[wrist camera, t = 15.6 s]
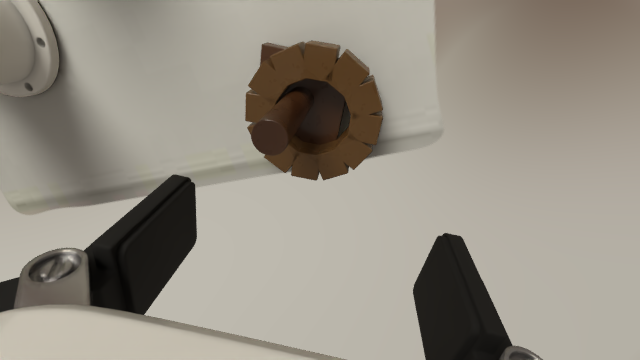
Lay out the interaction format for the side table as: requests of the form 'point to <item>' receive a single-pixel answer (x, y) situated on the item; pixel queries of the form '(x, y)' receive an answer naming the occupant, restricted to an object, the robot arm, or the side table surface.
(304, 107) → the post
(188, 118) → the side table surface
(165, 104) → the side table surface
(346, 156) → the ring
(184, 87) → the side table surface
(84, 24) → the side table surface
